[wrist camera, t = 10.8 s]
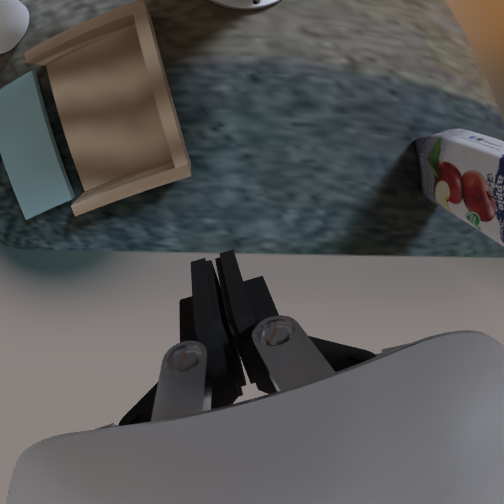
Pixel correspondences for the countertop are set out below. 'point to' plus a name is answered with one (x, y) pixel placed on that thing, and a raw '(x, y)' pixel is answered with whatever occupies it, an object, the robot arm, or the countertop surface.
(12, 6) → the cup
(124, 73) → the crate
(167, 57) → the countertop surface
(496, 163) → the juice carton
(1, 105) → the panel
